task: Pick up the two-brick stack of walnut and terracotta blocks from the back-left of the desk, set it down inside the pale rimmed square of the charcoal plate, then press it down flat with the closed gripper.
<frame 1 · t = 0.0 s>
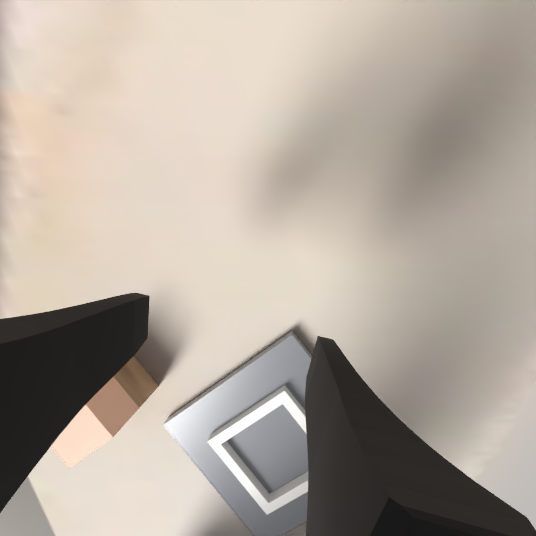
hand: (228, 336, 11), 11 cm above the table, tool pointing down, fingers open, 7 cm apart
base plate: (276, 437, 23), on the table
brick stack: (126, 379, 24), on the table
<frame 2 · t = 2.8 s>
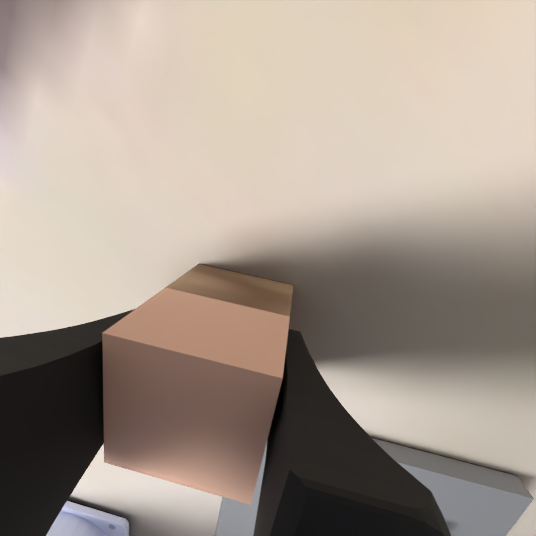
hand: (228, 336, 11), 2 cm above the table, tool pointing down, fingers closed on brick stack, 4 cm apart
base plate: (338, 524, 16), on the table
brick stack: (238, 317, 12), on the table, touching gripper
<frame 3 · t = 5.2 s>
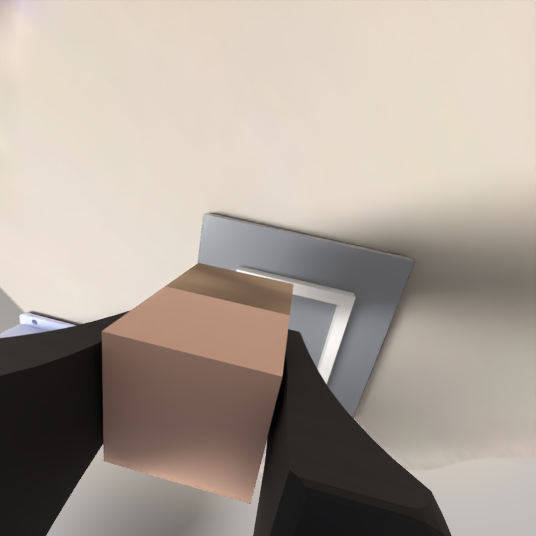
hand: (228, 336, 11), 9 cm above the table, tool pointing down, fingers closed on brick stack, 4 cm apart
base plate: (284, 322, 20), on the table
brick stack: (238, 316, 12), point 7 cm above the table, touching gripper
when the fingers open (4 cm above the table, at t = 7.6 s): brick stack drops 1 cm, resting on base plate.
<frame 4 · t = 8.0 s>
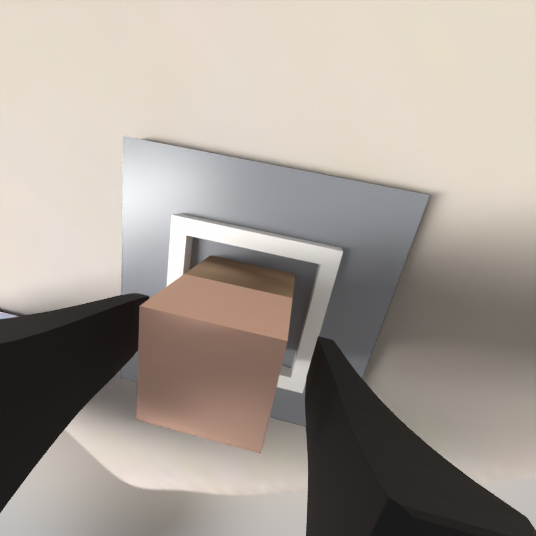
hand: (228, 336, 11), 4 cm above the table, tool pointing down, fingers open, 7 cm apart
base plate: (249, 296, 15), on the table
brick stack: (245, 303, 14), point 1 cm above the table, touching base plate
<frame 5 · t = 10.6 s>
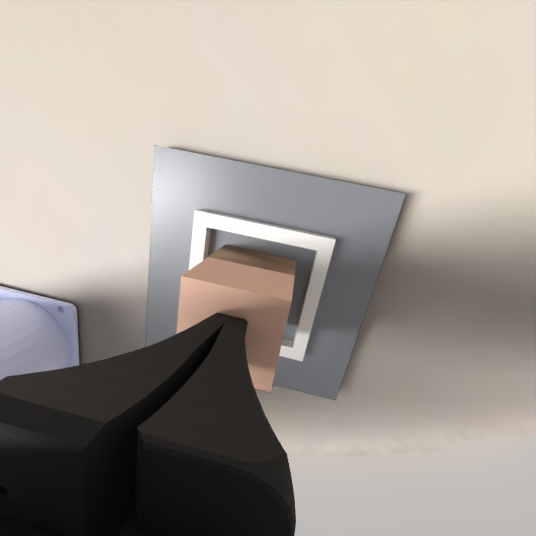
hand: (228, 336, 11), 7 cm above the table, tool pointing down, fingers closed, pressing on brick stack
base plate: (257, 280, 17), on the table
brick stack: (254, 285, 16), point 1 cm above the table, touching base plate, gripper
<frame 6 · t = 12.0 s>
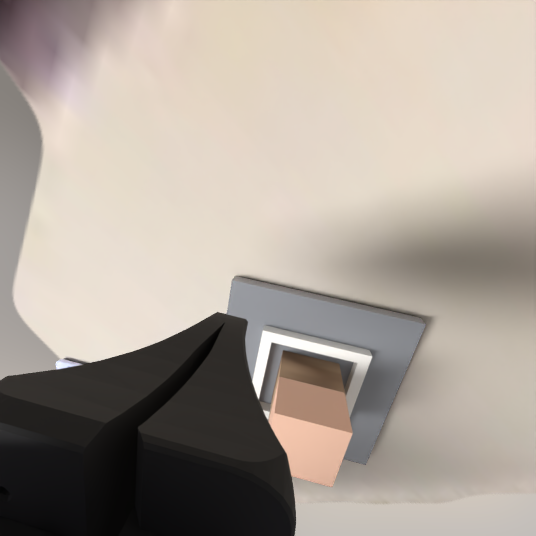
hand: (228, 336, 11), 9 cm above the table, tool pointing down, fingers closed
base plate: (304, 371, 22), on the table
brick stack: (304, 379, 21), point 1 cm above the table, touching base plate
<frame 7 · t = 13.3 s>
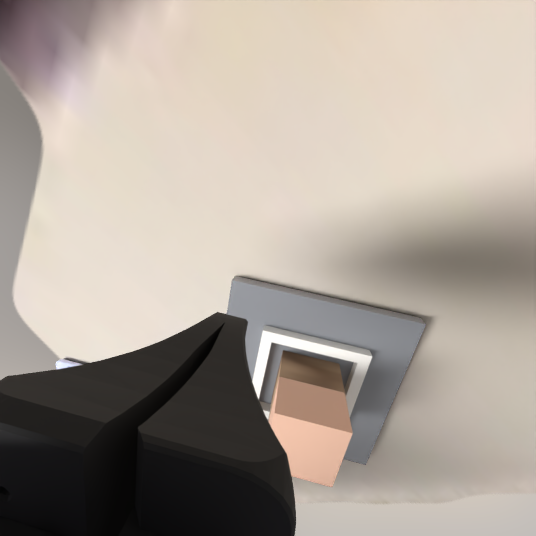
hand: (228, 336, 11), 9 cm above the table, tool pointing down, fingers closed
base plate: (304, 371, 22), on the table
brick stack: (304, 379, 21), point 1 cm above the table, touching base plate
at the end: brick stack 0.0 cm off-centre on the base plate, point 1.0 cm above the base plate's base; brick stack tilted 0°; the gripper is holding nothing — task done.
